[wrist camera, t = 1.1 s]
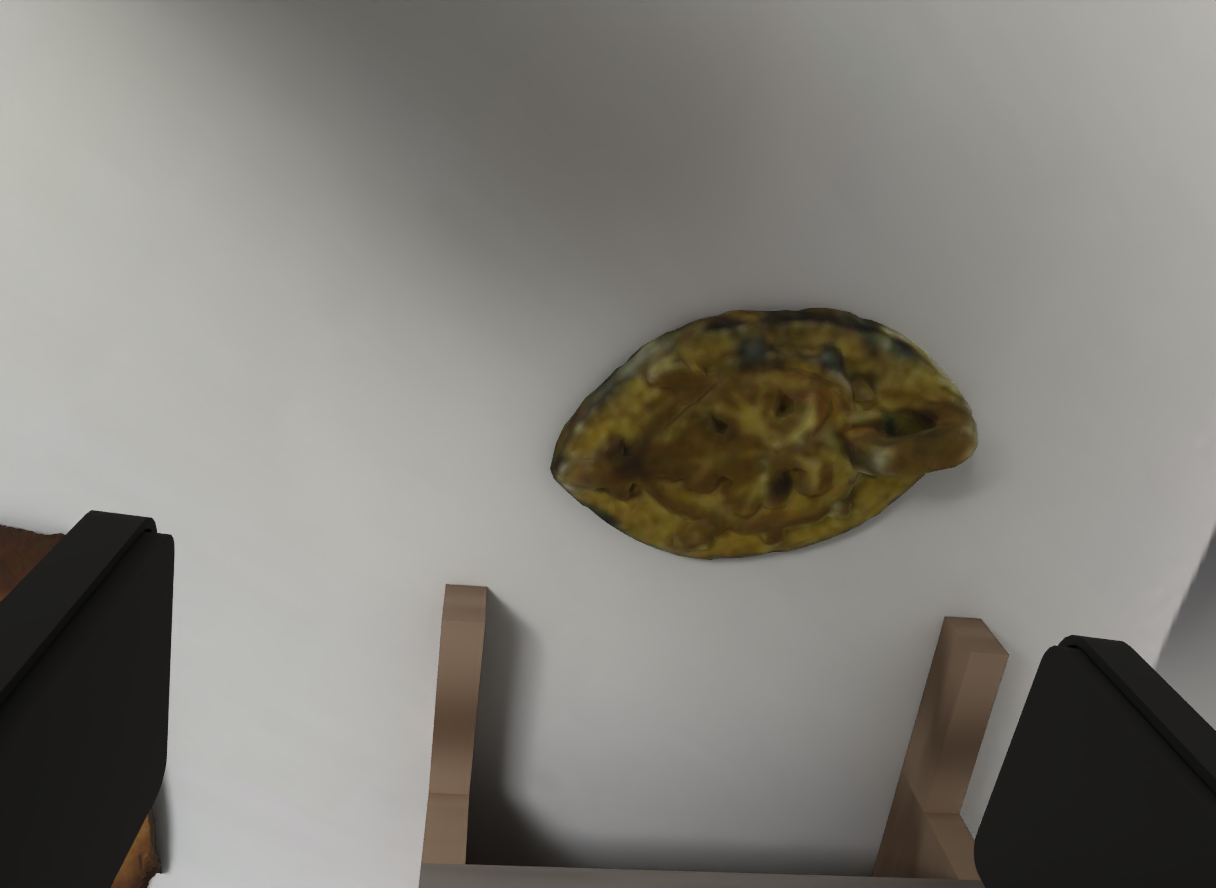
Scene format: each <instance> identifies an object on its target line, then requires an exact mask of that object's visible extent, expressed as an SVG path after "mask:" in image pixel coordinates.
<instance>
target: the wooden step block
mask: <svg viewBox="0 0 1216 888" xmlns="http://www.w3.org/2000/svg"><path fill="white" fill-rule="evenodd" d="M486 591H487V587H480V586H465V585H449V584H446V589H445V597H444V606H443V615H442V625H441V638H440V651H439V665H438V678H437V691H436V704H435V718H434V731H433V744H432V757H431V771H430V784H429V796H428V805H427V815H426V824H425V833H424V843H423V852H422V861H421V871H420V880H419V888H985V886H984V884H983V882H982V881H981V879H980V877H979V875H978V872H977V870H976V866H975V862H974V842H975V840H974V839H973V837H972V835H971V833H970V832H969V830H968V828H967V826H966V825H965V823H964V821H963V819H962V818H961V816H960V814H959V813H960V810H961V806H962V803H963V800H964V797H965V794H966V790H967V787H968V784H969V781H970V778H971V774H972V771H973V768H974V765H975V762H976V758H977V755H978V752H979V749H980V746H981V742H982V739H983V736H984V733H985V730H986V727H987V723H988V720H989V717H990V714H991V711H992V707H993V704H994V701H995V698H996V695H997V691H998V688H999V685H1000V682H1001V679H1002V675H1003V672H1004V669H1005V666H1006V663H1007V659H1008V656H1009V654H1008V653H1007V651H1006V650H1005V649H1004V648H1003V646H1002V645H1001V644H1000V642H999V641H998V640H997V639H996V637H995V636H994V635H993V634H992V632H991V631H990V630H989V629H988V627H987V626H986V625H985V624H984V622H983V621H982V620H981V619H975V618H959V617H945V618H944V622H943V625H942V629H941V632H940V636H939V640H938V643H937V647H936V650H935V654H934V657H933V661H932V664H931V668H930V671H929V675H928V679H927V682H926V686H925V689H924V693H923V696H922V700H921V703H920V707H919V711H918V714H917V718H916V721H915V725H914V728H913V732H912V735H911V739H910V742H909V746H908V750H907V753H906V757H905V760H904V764H903V767H902V771H901V774H900V778H899V781H898V785H897V789H896V792H895V796H894V799H893V803H892V806H891V810H890V813H889V817H888V820H887V824H886V828H885V831H884V835H883V838H882V842H881V845H880V849H879V852H878V856H877V859H876V863H875V867H874V870H873V874H872V877H860V876H827V875H795V874H762V873H729V872H697V871H664V870H631V869H598V868H566V867H533V866H500V865H468V864H465V861H466V843H467V824H468V806H469V790H470V780H471V769H472V758H473V748H474V737H475V726H476V715H477V705H478V694H479V683H480V673H481V662H482V651H483V641H484V630H485V615H486Z"/></svg>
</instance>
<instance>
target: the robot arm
mask: <svg viewBox="0 0 1216 888" xmlns="http://www.w3.org/2000/svg"><path fill="white" fill-rule="evenodd" d="M173 577H174V540H173V537H172V536H171V535H169V534H161V533H157V528H156V524H155V521H154V520H153V518H149V517H141V516H133V515H125V514H117V513H109V512H102V511H93V510H91V511H90V512H88V513H87V514H86V515H85V516H84V517H83V518H82V519H81V520H80V521H79V522H78V523H77V524H76V525H75V526H74V527H73V528H72V529H71V530H70V531H69V532H68V533H67V534H66V535H65V536H64V537H63V538H62V539H61V540H60V541H59V542H58V543H57V544H56V546H55V547H54V548H53V549H52V550H51V551H50V552H49V553H48V554H47V555H46V556H45V557H44V558H43V559H42V560H41V561H40V562H39V563H38V564H37V565H36V566H35V567H34V568H33V569H32V570H31V571H30V572H29V573H28V574H27V575H26V576H25V577H24V578H23V579H22V580H21V581H20V582H19V583H18V585H17V586H16V587H15V588H14V589H13V590H12V591H11V592H10V593H9V594H8V595H7V596H6V597H5V598H4V599H3V600H2V601H1V602H0V888H111V886H112V884H113V882H114V880H115V878H116V876H117V874H118V872H119V870H120V868H121V866H122V864H123V862H124V860H125V858H126V856H127V854H128V852H129V850H130V848H131V846H132V844H133V842H134V840H135V838H136V837H137V835H138V833H139V831H140V829H141V827H142V825H143V823H144V821H145V819H146V817H147V815H148V813H149V811H150V809H151V807H152V805H153V803H154V801H155V799H156V797H157V795H158V792H159V790H160V787H161V784H162V780H163V776H164V772H165V766H166V759H167V737H168V710H169V684H170V657H171V631H172V604H173ZM974 862H975V866H976V870H977V872H978V875H979V877H980V879H981V881H982V882H983V884H984V886H985V888H1216V731H1215V730H1214V729H1213V728H1212V727H1211V726H1210V725H1209V724H1208V723H1207V722H1206V721H1205V720H1204V719H1203V718H1202V717H1201V716H1200V715H1199V714H1198V713H1197V712H1196V711H1195V710H1194V709H1193V708H1192V707H1191V706H1190V705H1189V704H1188V703H1187V702H1186V701H1185V700H1184V699H1183V698H1182V697H1181V696H1180V695H1179V694H1178V693H1177V692H1176V691H1175V690H1174V689H1173V688H1172V687H1171V686H1170V685H1169V684H1168V683H1167V682H1166V681H1165V680H1164V679H1163V678H1162V677H1161V676H1160V675H1159V674H1158V673H1157V672H1156V671H1155V670H1154V669H1153V668H1152V667H1151V666H1150V665H1149V664H1148V663H1147V662H1146V661H1145V660H1144V659H1143V658H1142V657H1141V656H1140V655H1139V654H1138V653H1137V652H1136V651H1134V650H1133V649H1132V648H1131V647H1130V646H1129V645H1128V644H1126V643H1125V642H1123V641H1115V640H1108V639H1100V638H1092V637H1084V636H1076V635H1070V636H1068V637H1066V638H1064V639H1063V640H1062V641H1061V642H1060V643H1059V645H1058V646H1053V647H1050V648H1049V649H1048V650H1047V651H1046V652H1045V654H1044V655H1043V657H1042V660H1041V662H1040V665H1039V668H1038V670H1037V673H1036V676H1035V678H1034V681H1033V684H1032V687H1031V689H1030V692H1029V695H1028V697H1027V700H1026V703H1025V705H1024V708H1023V711H1022V713H1021V716H1020V719H1019V722H1018V724H1017V727H1016V730H1015V732H1014V735H1013V738H1012V740H1011V743H1010V746H1009V748H1008V751H1007V754H1006V757H1005V759H1004V762H1003V765H1002V767H1001V770H1000V773H999V775H998V778H997V781H996V783H995V786H994V789H993V792H992V794H991V797H990V800H989V802H988V805H987V808H986V810H985V813H984V816H983V819H982V821H981V824H980V827H979V829H978V832H977V835H976V838H975V842H974Z"/></svg>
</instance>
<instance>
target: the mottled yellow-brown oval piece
mask: <svg viewBox="0 0 1216 888" xmlns="http://www.w3.org/2000/svg"><path fill="white" fill-rule="evenodd" d="M977 444H978V441H977V427H976V423H975V421H974V419H973V417H972V413H971V409H970V407H969V405H968V403H967V402H966V400H965V399H964V398H963V396H962V395H961V394H960V392H959V391H958V390H957V388H956V387H955V386H954V384H953V383H952V382H951V381H950V380H949V378H948V377H947V376H946V375H945V374H944V372H943V371H942V370H941V369H940V368H939V367H938V366H937V365H936V364H935V363H934V362H933V361H932V360H931V359H930V358H929V357H928V355H927V354H926V353H924V352H923V351H922V350H921V349H920V348H919V347H918V346H916V345H915V344H914V343H912V342H911V341H910V340H908V339H907V338H905V337H904V336H902V335H901V334H899V333H898V332H895V331H893V330H891V329H889V328H887V327H886V326H884V325H882V324H880V323H877V322H874V321H872V320H866V319H861V318H859V317H857V316H856V315H854V314H852V313H850V312H845V311H840V310H834V309H827V308H809V309H804V310H800V311H789V310H784V311H745V310H737V311H728V312H726V313H723V314H721V315H718V316H713V317H708V318H704V319H700V320H697V321H694V322H692V323H689V324H687V325H685V326H683V327H681V328H678V329H676V330H674V331H670V332H667V333H665V334H663V335H662V336H660V337H658V338H657V339H655V340H653V341H651V342H650V343H648V344H646V345H644V346H642V347H641V348H640V349H639V350H638V351H637V352H636V353H634V354H633V355H632V356H631V358H630V359H629V360H628V361H627V362H626V363H625V364H624V365H623V366H621V367H619V368H618V369H616V370H615V371H614V372H613V373H612V374H611V375H610V376H609V377H608V378H607V379H606V380H605V381H604V382H603V383H602V384H601V385H600V386H599V387H598V388H597V389H596V390H595V391H594V392H593V393H591V394H590V395H589V396H587V397H586V398H585V399H584V401H583V402H582V404H581V405H580V407H579V408H578V409H577V411H576V412H575V414H574V415H573V416H572V417H571V419H570V420H569V421H568V422H567V423H566V424H565V426H564V428H563V430H562V432H561V434H560V436H559V439H558V441H557V443H556V447H555V451H554V455H553V459H552V463H551V467H550V469H551V472H552V474H553V477H554V479H555V480H556V481H557V482H558V483H559V484H560V485H561V486H562V487H563V488H564V489H565V490H566V491H567V492H568V493H569V494H571V495H572V496H573V497H574V498H575V499H576V500H577V501H579V502H580V503H581V504H582V505H584V506H586V507H588V508H589V509H591V510H592V511H593V512H594V513H595V514H597V515H598V516H599V517H600V518H601V519H603V520H604V521H606V522H607V523H608V524H610V525H612V526H613V527H615V528H616V529H618V530H620V531H621V532H623V533H624V534H626V535H628V536H630V537H632V538H634V539H636V540H638V541H640V542H642V543H645V544H647V545H650V546H652V547H655V548H657V549H660V550H663V551H666V552H670V553H673V554H676V555H679V556H685V557H691V558H698V559H709V560H712V559H717V558H742V557H751V556H756V555H762V554H766V553H770V552H786V551H791V550H795V549H798V548H802V547H805V546H808V545H812V544H815V543H818V542H821V541H824V540H827V539H830V538H832V537H834V536H837V535H839V534H842V533H845V532H847V531H849V530H851V529H853V528H855V527H857V526H859V525H861V524H862V523H864V522H865V521H867V520H868V519H869V518H871V517H874V516H876V515H877V514H879V513H880V512H881V511H883V510H884V509H885V508H886V507H887V506H888V505H890V504H891V503H892V502H894V501H895V500H896V499H897V498H899V497H900V496H901V495H902V494H904V493H905V492H906V491H907V490H908V489H909V488H910V487H911V486H913V485H914V484H915V483H916V482H917V481H918V480H919V479H920V478H921V477H923V476H924V475H925V473H929V472H933V471H937V470H942V469H947V468H953V467H955V466H957V465H959V464H961V463H963V462H964V461H965V460H967V459H968V458H969V457H971V456H972V454H973V452H974V451H975V449H976V447H977Z"/></svg>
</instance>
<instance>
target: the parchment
mask: <svg viewBox="0 0 1216 888" xmlns="http://www.w3.org/2000/svg"><path fill="white" fill-rule="evenodd" d="M64 536H65V535H64V534H62V533H59V534H52V535H43V534H40V535H38V534H35V533H34V532H33V531H26V530H23V529H15V528H12V527H7V528H6V525H5V526H2V525H0V602H1V601H2V600H3V599H4V598H5V597H6V596H7V595H8V594H9V593H10V592H11V591H12V590H13V589H14V588H15V587H16V586H17V585H18V583H19V582H20V581H21V580H22V579H23V578H24V577H25V576H26V575H27V574H28V573H29V572H30V571H31V570H32V569H33V568H34V567H35V566H36V565H37V564H38V563H39V562H40V561H41V560H42V559H43V558H44V557H45V556H46V555H47V554H48V553H49V552H50V551H51V550H52V549H53V548H54V547H55V546H56V544H57V543H58V542H59V541H60V540H61V539H62V538H63V537H64ZM155 837H156V834H155V823H154V818H153V814H152V807H151V809H150V811H149V813H148V815H147V817H146V819H145V821H144V823H143V825H142V827H141V829H140V831H139V833H138V835H137V837H136V838H135V840H134V842H133V844H132V846H131V848H130V850H129V852H128V854H127V856H126V858H125V860H124V862H123V864H122V866H121V868H120V870H119V872H118V874H117V876H116V878H115V880H114V882H113V884H112V886H111V888H147V886H148V885H149V883H148V881H149V880H150V879H151V878H152V877H153V876H154V875H155V874H156V873H160V874H161V873H162V872H161V865H160V860H159V859H158V855H157V853H156V852H155V847H156V843H155Z"/></svg>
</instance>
